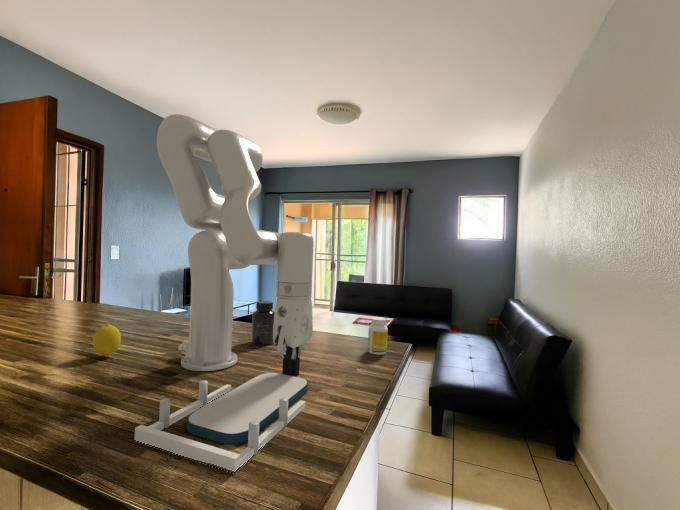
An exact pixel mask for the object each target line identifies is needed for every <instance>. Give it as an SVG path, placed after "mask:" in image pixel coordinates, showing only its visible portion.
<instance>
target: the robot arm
mask: <svg viewBox="0 0 680 510" xmlns="http://www.w3.org/2000/svg"><path fill="white" fill-rule="evenodd" d="M156 149H157V153H158V154H157V155H158V157H159V159H160V162H161V164H162V166H163V169H164V171H165V172H166V174H167V177H168V178H169V181H170V184H171V188H172V190H173V193H174V195H175V199H176V202H177V205H178V207H179V211H180V214H181V217H182V220H184V222H185V224H186V225H187V226H189V227H190V228H192V229H197V230H200V231H198V232H196V233H195V234H194V235H193V236H192V237H191V238H190V240H189V242H188V245H187V257H188V263H189V270H190V313H189V337H188V339H189V340H187V339H184V340H183V341H182V342H181V344H179V345H178V347H177V349H178V350H179V351H181V352H182V351H183V352H185V355H184V356H183V357H182V358H181V360H180V366H181V367H182V368H183V369H185V370H188V371H193V372H211V371H219V370H223V369H224V370H225V369H227V368H230V367H232V366H234V365H236V363H237V362H238V354H236V353H235V352H233V351H232V345H233V344H232V340H233V321H234V320H233V319H234V317H233V316H234V298H235V297H234V283H233V279H232V277H231V274H230V270H242V269H245V268H248V267H249V266H260V265H262V266H266V265H267V266H268V265H269V266H270V265H271V266H272V265H277V266H276V287H275V288H276V291H275V297H276V302H275V308H274V312H275V314H274V324H273V345H275V346H277V347H276V354H277V355H278V354H279V355H281V358H282V373H281V374H284V375H290V376H295V377H299V376H300V363H301V361H300V359H301V358H300V357H301V355H302V347H303V345H304V344H305V343H307V342H308V341H310V340H311V339H312V337H313V329H314V328H313V323H314V322H313V320H314V319H313V301H312V295H313V293H312V291H313V270H314V269H313V267H314V248H315V247H314V242H315V241H314V237H313V235H312V234H311V233H308V232H301V231H299V232H297V231H285V232H282V233H281V232H276V231H268V230H263V229H256V226H255V224H254V222H253V219H252V216H251V214H250V210H249V201H252V200H253V199H255V198H256V197H257V196H258V195H259V194H260V193H261V191H262V184H261V182H260V179H259V177H258V174H257V172H259V171H260V169H261V167H262V164H263V153H262V150H261V148H260V147H259V145H257V144H256V143H255V142H254V141H252V140H250V139H248V138H246V137H244V136H243V135H240V134H239V133H237V132H234V131H232V130H230V129H216V128H214V127H212V126H210V125H208V124H206V123H203V122H202V121H200V120H198V119H195V118H194V117H191V116H188V115H184V114H178V113H177V114H176V113H174V114H170V115H168V116H166V117H164V118H163V120H162V121H161V123H160V125H159V127H158V130H157V135H156ZM196 157H197V158H199V159H201V160H203V161H207V162H209V163H212V166H213V169H214V171H215V173H216V177H217V179H218V181H219V184H220V186H221V189H222V192H223V195H222V194H219V193H216V192H215V191H214V189H213V188H212V186H211V184H210V182H209V178H208V175H207V172H206V171H205V169H204V167H202V165H201V164H200V163H199V161H198V160H197V159H196Z"/></svg>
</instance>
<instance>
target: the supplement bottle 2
mask: <svg viewBox="0 0 680 510" xmlns="http://www.w3.org/2000/svg"><path fill="white" fill-rule="evenodd" d="M386 324H387V319H386V318H385V317H380V316H374V317H371V324H370V325H369V326H368V335H367V337H368V339H367V352H368V353H369V354H372V355H378V356H381V355H386V354H387V350H388V335H389V334H388V333H389V329H388V326H387V325H386Z"/></svg>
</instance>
